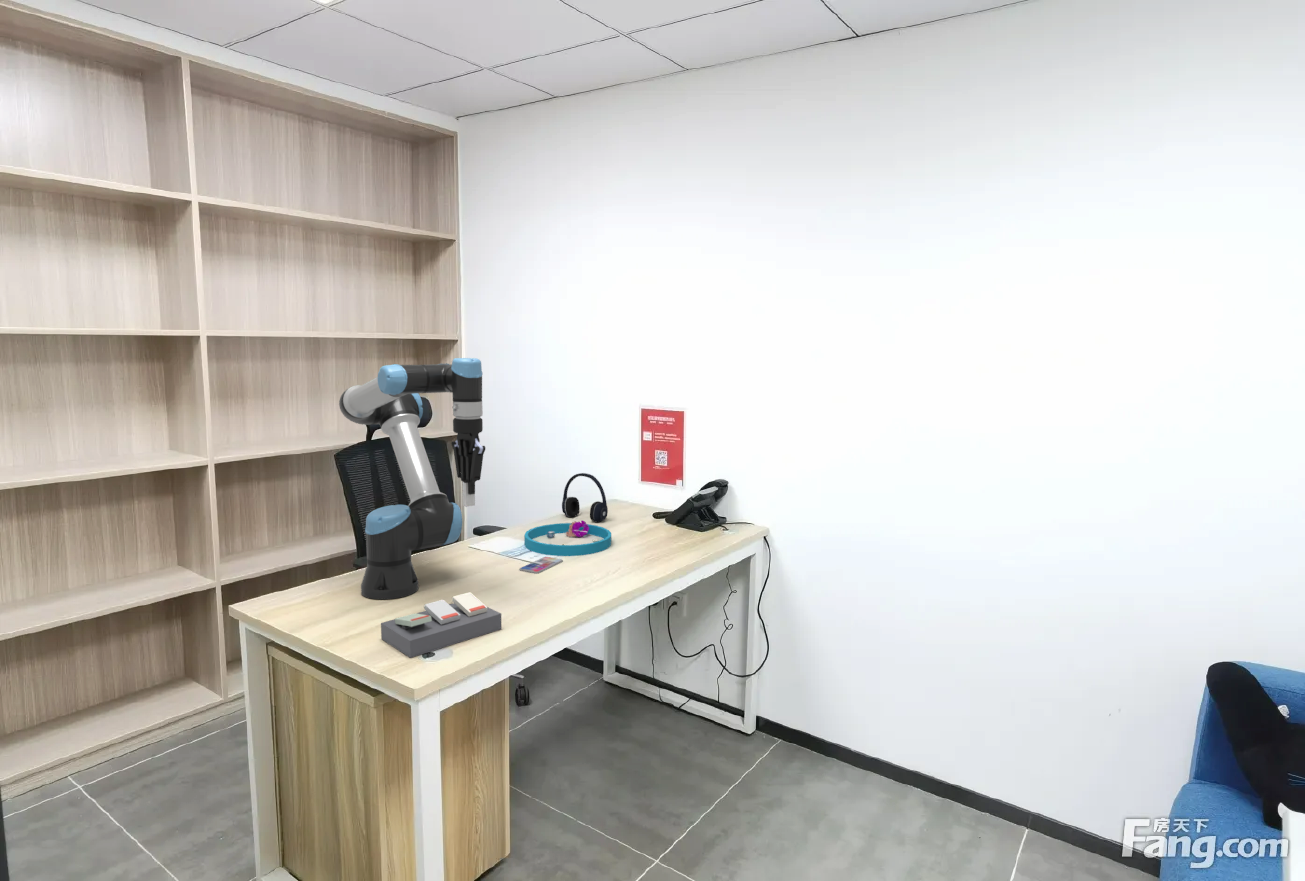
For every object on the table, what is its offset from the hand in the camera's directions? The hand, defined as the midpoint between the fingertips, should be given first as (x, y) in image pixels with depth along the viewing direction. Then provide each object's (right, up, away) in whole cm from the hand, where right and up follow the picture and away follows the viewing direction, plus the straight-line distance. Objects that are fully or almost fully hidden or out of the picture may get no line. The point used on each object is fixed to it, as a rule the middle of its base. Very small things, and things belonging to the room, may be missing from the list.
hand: (469, 505), depth 196 cm
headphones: (+22, -14, +95) cm, 99 cm away
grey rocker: (-2, -24, -19) cm, 31 cm away
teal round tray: (+19, -19, +61) cm, 67 cm away
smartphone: (+14, -23, +36) cm, 44 cm away
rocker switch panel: (-3, -29, -17) cm, 34 cm away
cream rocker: (+4, -23, -14) cm, 27 cm away
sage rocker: (-7, -24, -25) cm, 35 cm away
